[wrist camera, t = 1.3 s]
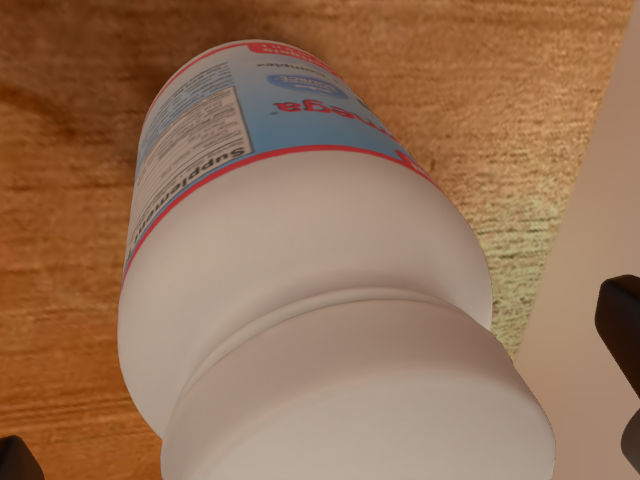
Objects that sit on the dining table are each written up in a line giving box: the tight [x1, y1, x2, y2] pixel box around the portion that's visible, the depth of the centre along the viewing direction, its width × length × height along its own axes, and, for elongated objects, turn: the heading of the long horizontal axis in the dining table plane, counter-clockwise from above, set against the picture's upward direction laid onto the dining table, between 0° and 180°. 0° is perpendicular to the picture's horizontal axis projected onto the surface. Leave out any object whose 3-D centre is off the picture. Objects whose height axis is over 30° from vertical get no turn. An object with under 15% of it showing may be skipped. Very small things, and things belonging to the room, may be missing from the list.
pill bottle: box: [117, 39, 556, 480], centre depth 11 cm, size 6×6×11 cm
